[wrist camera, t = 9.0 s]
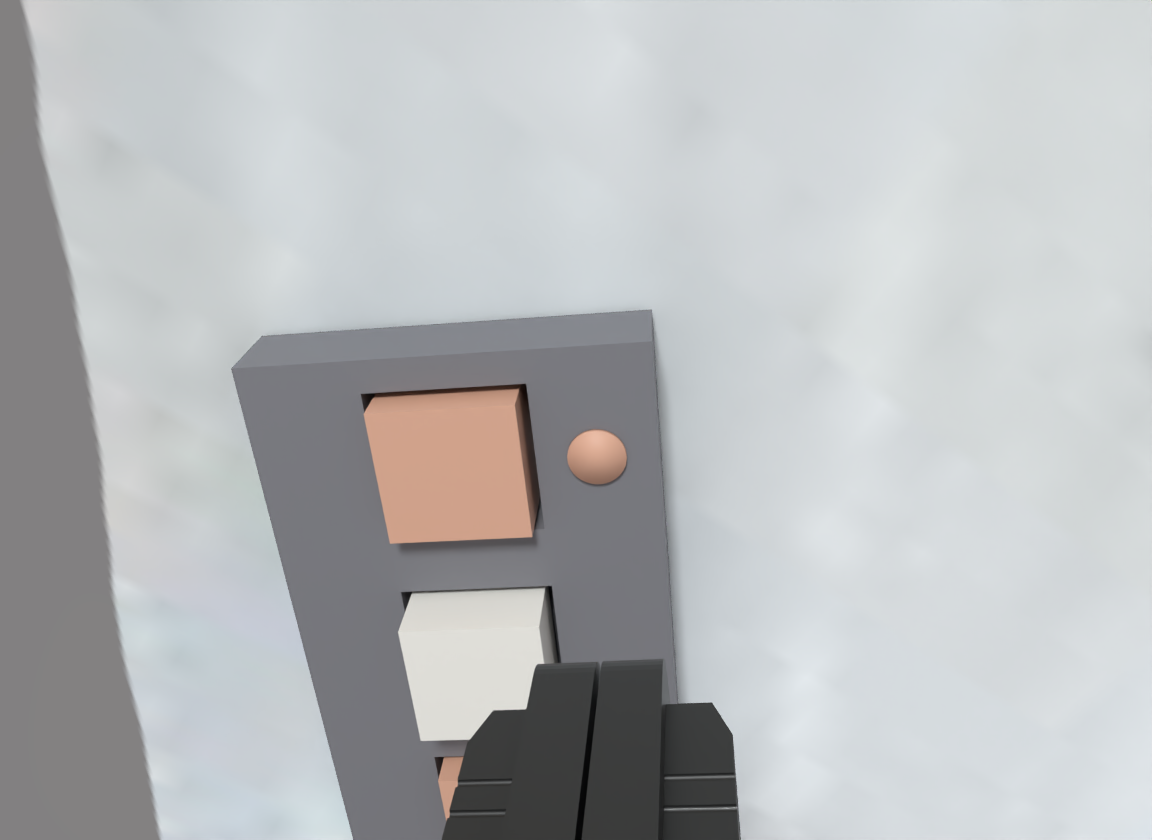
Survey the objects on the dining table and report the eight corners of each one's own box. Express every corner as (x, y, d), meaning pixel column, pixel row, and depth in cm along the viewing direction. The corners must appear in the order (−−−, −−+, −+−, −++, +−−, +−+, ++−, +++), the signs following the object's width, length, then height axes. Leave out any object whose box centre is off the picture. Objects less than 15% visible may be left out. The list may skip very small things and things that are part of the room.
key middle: (546, 577, 38) (539, 626, 35) (560, 683, 40) (553, 737, 38) (415, 582, 39) (398, 632, 36) (435, 687, 41) (420, 740, 38)
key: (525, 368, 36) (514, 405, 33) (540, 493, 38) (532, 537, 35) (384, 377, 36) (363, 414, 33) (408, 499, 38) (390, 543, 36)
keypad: (651, 309, 35) (651, 343, 33) (685, 818, 46) (688, 878, 43) (261, 335, 37) (228, 370, 34) (379, 823, 47) (362, 882, 44)
